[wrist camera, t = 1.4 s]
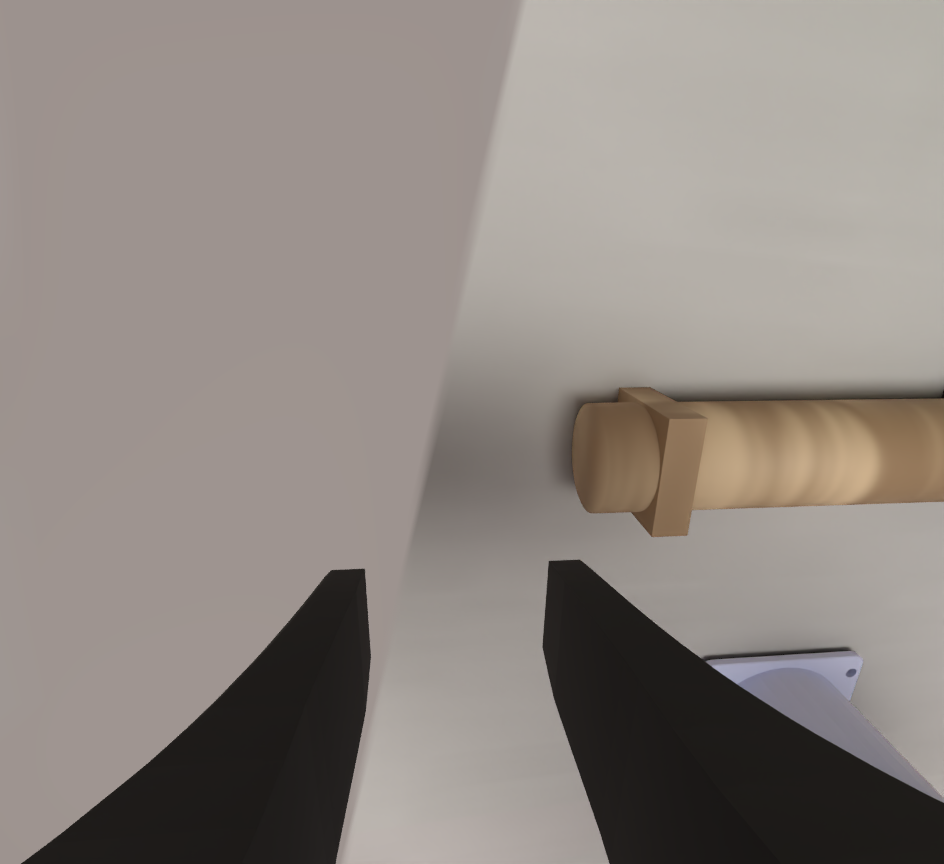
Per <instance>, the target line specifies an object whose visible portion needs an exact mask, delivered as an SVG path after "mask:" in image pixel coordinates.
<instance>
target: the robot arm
mask: <svg viewBox="0 0 944 864" xmlns="http://www.w3.org/2000/svg"><path fill="white" fill-rule="evenodd" d="M367 610H368V609H367V595H366V580H365V569H350V570H332V571H330V572H329V573H328V574H327V575H326V576H325V577H324V579H323V580H322V581H321V583H320V584H319V585H318V586H317V588H316V589H315V590H314V591H313V593H312V594H311V595H310V597H309V598H308V599H307V600H306V601H305V603H304V604H303V605H302V606H301V607H300V609H299V610H298V611H297V612H296V614H295V615H294V616H293V617H292V618H291V620H290V621H289V622H288V623H287V624H286V625H285V627H284V628H283V629H282V630H281V631H280V632H279V633H278V635H277V636H276V637H275V638H274V639H273V640H272V641H271V643H270V644H269V645H268V646H267V648H265V650H264V651H263V652H262V653H261V654H260V655H259V656H258V657H257V658H256V659H255V661H254V662H253V663H252V664H251V665H250V666H249V667H248V668H247V669H246V670H245V671H244V672H243V673H242V674H241V675H240V676H239V677H238V678H237V679H236V680H235V681H234V682H233V683H232V684H231V685H230V686H229V688H228V689H227V690H226V691H225V692H224V693H223V694H222V695H221V696H220V697H219V698H218V699H217V700H216V701H215V702H214V703H213V704H212V705H211V706H210V707H209V708H208V709H207V710H206V711H204V713H202V714H201V715H200V716H199V717H198V718H197V719H196V720H195V721H194V722H193V723H192V724H191V725H190V726H189V727H188V728H187V729H186V730H184V731H183V732H182V733H181V734H180V735H179V736H178V737H177V738H176V739H175V740H173V741H172V742H171V743H170V744H169V745H168V746H167V747H166V748H165V749H164V750H162V751H161V752H160V753H159V754H158V755H157V756H156V757H154V758H153V759H152V760H151V761H150V762H149V763H148V764H146V765H145V766H144V767H143V768H142V769H140V770H139V771H138V772H137V773H136V774H134V775H133V776H132V777H131V778H129V779H128V780H127V781H126V782H125V783H123V784H122V785H121V786H120V787H118V788H117V789H116V790H115V791H114V792H112V793H111V794H110V795H108V796H107V797H106V798H105V799H103V800H102V801H101V802H100V803H99V804H97V805H96V806H95V807H94V808H92V809H91V810H90V811H89V812H87V813H86V814H85V815H84V816H82V817H81V818H80V819H79V820H77V821H76V822H75V823H74V824H73V825H71V826H70V827H69V828H68V829H66V830H65V831H64V832H63V833H61V834H60V835H59V836H57V837H56V838H55V839H53V840H52V841H51V842H50V843H48V844H47V845H46V846H44V847H43V848H42V849H40V850H39V851H38V852H36V853H35V854H34V855H32V856H31V857H30V858H28V859H27V860H26V861H24V862H23V863H21V864H336V857H337V852H338V847H339V842H340V838H341V832H342V827H343V822H344V818H345V813H346V808H347V803H348V798H349V793H350V788H351V783H352V778H353V773H354V768H355V763H356V758H357V753H358V748H359V742H360V737H361V733H362V728H363V722H364V717H365V712H366V702H367V692H368V682H369V670H370V660H371V654H370V640H369V624H368V611H367ZM543 651H544V655H545V660H546V665H547V669H548V674H549V679H550V683H551V687H552V691H553V696H554V700H555V703H556V706H557V709H558V712H559V715H560V718H561V721H562V724H563V727H564V729H565V732H566V735H567V738H568V741H569V744H570V747H571V750H572V753H573V756H574V759H575V761H576V764H577V767H578V770H579V773H580V776H581V779H582V782H583V785H584V787H585V790H586V793H587V796H588V799H589V802H590V805H591V808H592V811H593V813H594V816H595V819H596V822H597V825H598V828H599V831H600V834H601V837H602V840H603V844H604V847H605V850H606V853H607V857H608V860H609V863H610V864H944V798H943V797H942V796H941V795H940V794H939V793H938V792H937V791H936V790H935V789H934V788H933V786H932V785H931V784H930V783H929V782H928V781H927V780H926V779H925V778H924V777H923V776H922V775H921V774H920V773H919V772H918V771H917V770H916V769H915V768H914V767H913V766H912V765H911V764H910V763H909V762H908V761H907V760H906V759H905V758H904V757H903V756H902V755H901V754H900V753H899V752H898V751H897V750H896V749H895V748H894V746H893V745H892V744H891V743H890V742H889V741H888V740H887V739H886V738H885V737H884V736H883V735H882V734H881V733H880V732H879V731H878V730H877V729H876V728H875V727H874V726H873V725H872V724H871V723H870V722H869V721H868V720H867V719H866V718H865V717H864V716H863V715H862V714H861V713H860V712H859V711H858V710H857V709H856V708H855V706H854V705H853V704H852V703H851V702H850V700H851V697H852V694H853V691H854V688H855V685H856V682H857V679H858V676H859V674H860V671H861V668H862V665H863V659H862V657H861V656H860V655H858V654H857V653H856V652H854V651H841V652H825V653H810V654H794V655H778V656H762V657H746V658H730V659H714V660H708V661H706V662H705V661H704V660H702V659H701V658H700V657H698V656H697V655H695V654H694V653H693V652H691V651H690V650H689V649H687V648H686V647H685V646H683V645H682V644H681V643H679V642H678V641H677V640H675V639H674V638H673V637H672V636H670V635H669V634H668V633H667V632H665V631H664V630H663V629H661V628H660V627H659V626H658V625H656V624H655V623H654V622H653V621H652V620H650V619H649V618H648V617H647V616H645V615H644V614H643V613H642V612H641V611H639V610H638V609H637V608H636V607H635V606H633V605H632V604H631V603H630V602H629V601H628V600H626V599H625V598H624V597H623V596H622V595H621V594H619V593H618V592H617V591H616V590H615V589H614V588H612V587H611V586H610V585H609V584H608V583H607V582H606V581H604V580H603V579H602V578H601V577H600V576H599V575H597V574H596V573H595V572H594V571H593V570H592V569H591V568H589V567H588V566H587V565H586V564H585V563H583V562H582V561H581V560H562V561H549V567H548V581H547V594H546V608H545V621H544V635H543Z"/></svg>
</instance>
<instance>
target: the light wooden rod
mask: <svg viewBox="0 0 944 864" xmlns="http://www.w3.org/2000/svg"><path fill="white" fill-rule="evenodd" d="M572 465H573V474H574V481H575V486H576V490H577V493H578V496H579V499H580V501H581V503H582V505H583V507H584V508H585V510H587V511H588V512H589V513H616V512H631V513H632V514H633V515H634V516H635V517H636V519H637V520H638V521H639V522H640V523H641V525H642V526H643V527H644V528H645V529H646V531H647V532H648V533H649V534H650V535H651V537H663V536H687V534H688V528H689V523H690V517H691V511H692V510H706V509H735V508H765V507H795V506H825V505H855V504H884V503H914V502H944V391H943V394H942V397H941V399H864V400H784V401H703V402H676V401H674V400H673V399H671V398H669V397H667V396H665V395H663V394H661V393H660V392H658V391H656V390H654V389H652V388H650V387H637V388H619V394H618V403H586V404H584V405H583V406H582V407H581V409H580V410H579V413H578V415H577V418H576V421H575V426H574V431H573V440H572Z"/></svg>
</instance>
